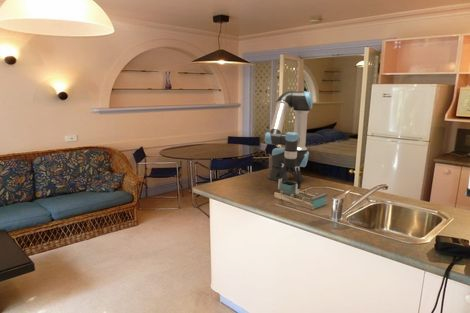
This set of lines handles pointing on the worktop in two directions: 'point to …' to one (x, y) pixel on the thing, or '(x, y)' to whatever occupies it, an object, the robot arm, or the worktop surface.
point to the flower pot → (288, 187)
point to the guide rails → (297, 201)
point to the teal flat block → (319, 200)
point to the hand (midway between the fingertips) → (288, 191)
